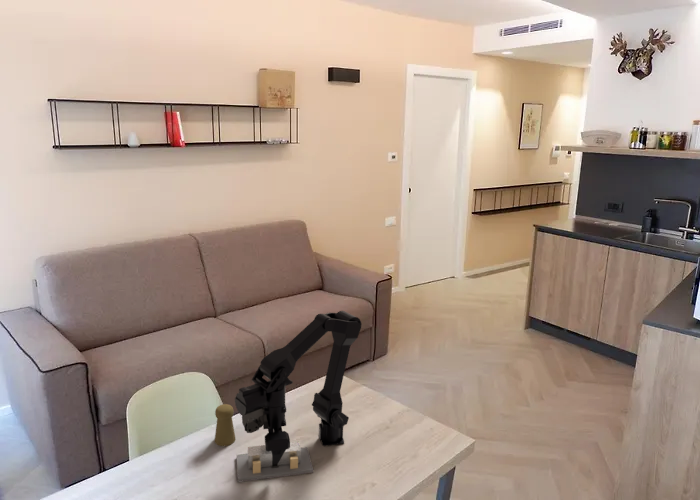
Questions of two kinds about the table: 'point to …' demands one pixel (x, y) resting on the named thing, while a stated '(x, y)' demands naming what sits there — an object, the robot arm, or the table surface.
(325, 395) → the robot arm
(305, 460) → the plate
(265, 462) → the air duct
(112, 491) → the table surface
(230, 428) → the cork
